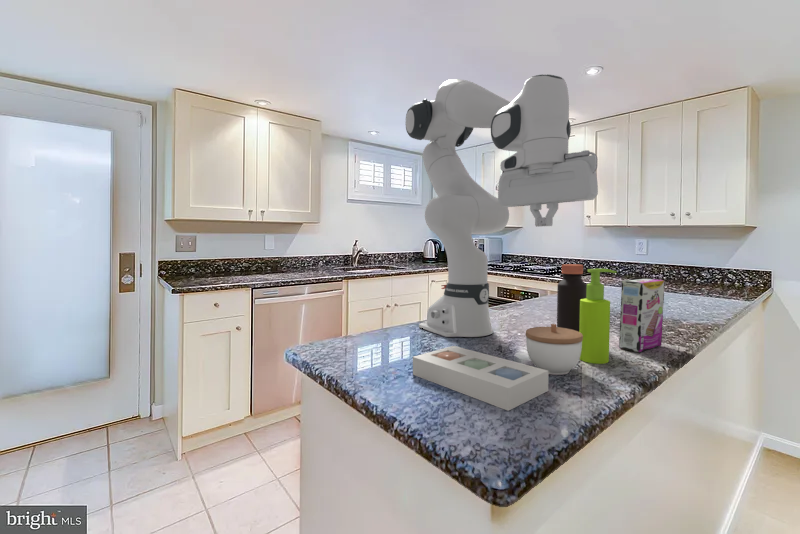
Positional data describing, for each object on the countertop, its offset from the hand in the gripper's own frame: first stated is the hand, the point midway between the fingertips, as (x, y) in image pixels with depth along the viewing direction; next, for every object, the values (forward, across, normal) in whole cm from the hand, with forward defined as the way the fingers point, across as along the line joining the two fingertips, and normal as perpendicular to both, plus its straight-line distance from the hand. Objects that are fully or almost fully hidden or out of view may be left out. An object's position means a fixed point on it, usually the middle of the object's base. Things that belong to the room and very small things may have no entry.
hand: (543, 226), depth 80 cm
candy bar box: (+29, -9, -30) cm, 43 cm away
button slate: (+28, -4, +18) cm, 34 cm away
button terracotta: (+28, +10, +18) cm, 35 cm away
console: (+29, +3, +18) cm, 34 cm away
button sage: (+28, +3, +18) cm, 34 cm away
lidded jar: (+29, -3, +1) cm, 30 cm away
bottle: (+29, +4, -21) cm, 36 cm away
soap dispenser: (+29, -6, -12) cm, 32 cm away
